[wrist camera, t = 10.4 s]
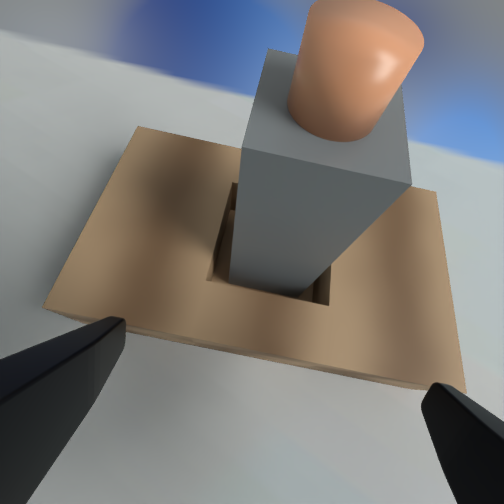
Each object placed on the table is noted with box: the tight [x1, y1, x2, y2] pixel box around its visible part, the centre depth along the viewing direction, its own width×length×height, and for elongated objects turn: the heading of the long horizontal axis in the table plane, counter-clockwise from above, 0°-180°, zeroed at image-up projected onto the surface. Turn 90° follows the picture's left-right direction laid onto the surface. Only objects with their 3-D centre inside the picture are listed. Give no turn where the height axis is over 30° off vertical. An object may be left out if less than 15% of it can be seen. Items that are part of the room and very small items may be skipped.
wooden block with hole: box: [42, 126, 467, 393], centre depth 17 cm, size 20×12×4 cm, turn 80°
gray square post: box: [228, 0, 424, 298], centre depth 12 cm, size 4×4×13 cm
